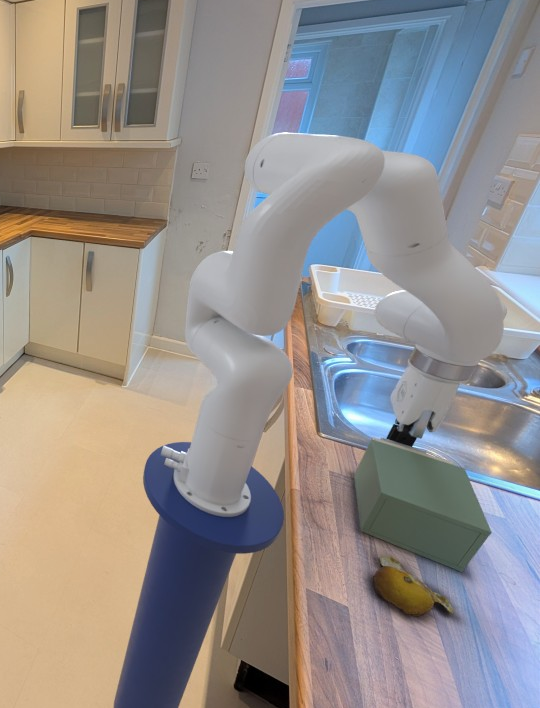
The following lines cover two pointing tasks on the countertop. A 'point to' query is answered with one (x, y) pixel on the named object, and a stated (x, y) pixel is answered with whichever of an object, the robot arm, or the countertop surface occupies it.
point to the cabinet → (419, 505)
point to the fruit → (405, 589)
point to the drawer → (410, 449)
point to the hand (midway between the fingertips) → (397, 446)
